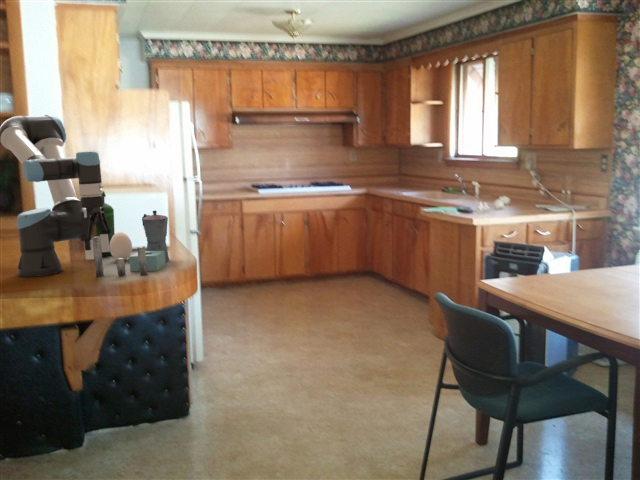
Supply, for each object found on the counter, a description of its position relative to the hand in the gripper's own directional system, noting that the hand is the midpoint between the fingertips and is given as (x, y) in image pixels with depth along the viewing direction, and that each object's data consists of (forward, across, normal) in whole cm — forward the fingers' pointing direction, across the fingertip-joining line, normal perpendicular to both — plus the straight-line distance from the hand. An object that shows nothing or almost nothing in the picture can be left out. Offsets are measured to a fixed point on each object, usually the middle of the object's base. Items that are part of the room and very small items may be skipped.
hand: (98, 255), depth 228 cm
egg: (+7, +27, +2) cm, 28 cm away
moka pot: (+8, +24, -13) cm, 28 cm away
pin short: (+8, 0, -8) cm, 11 cm away
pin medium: (+8, 0, -16) cm, 17 cm away
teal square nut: (+7, +11, -14) cm, 19 cm away
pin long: (+7, 0, 0) cm, 7 cm away
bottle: (+7, +39, +14) cm, 42 cm away
